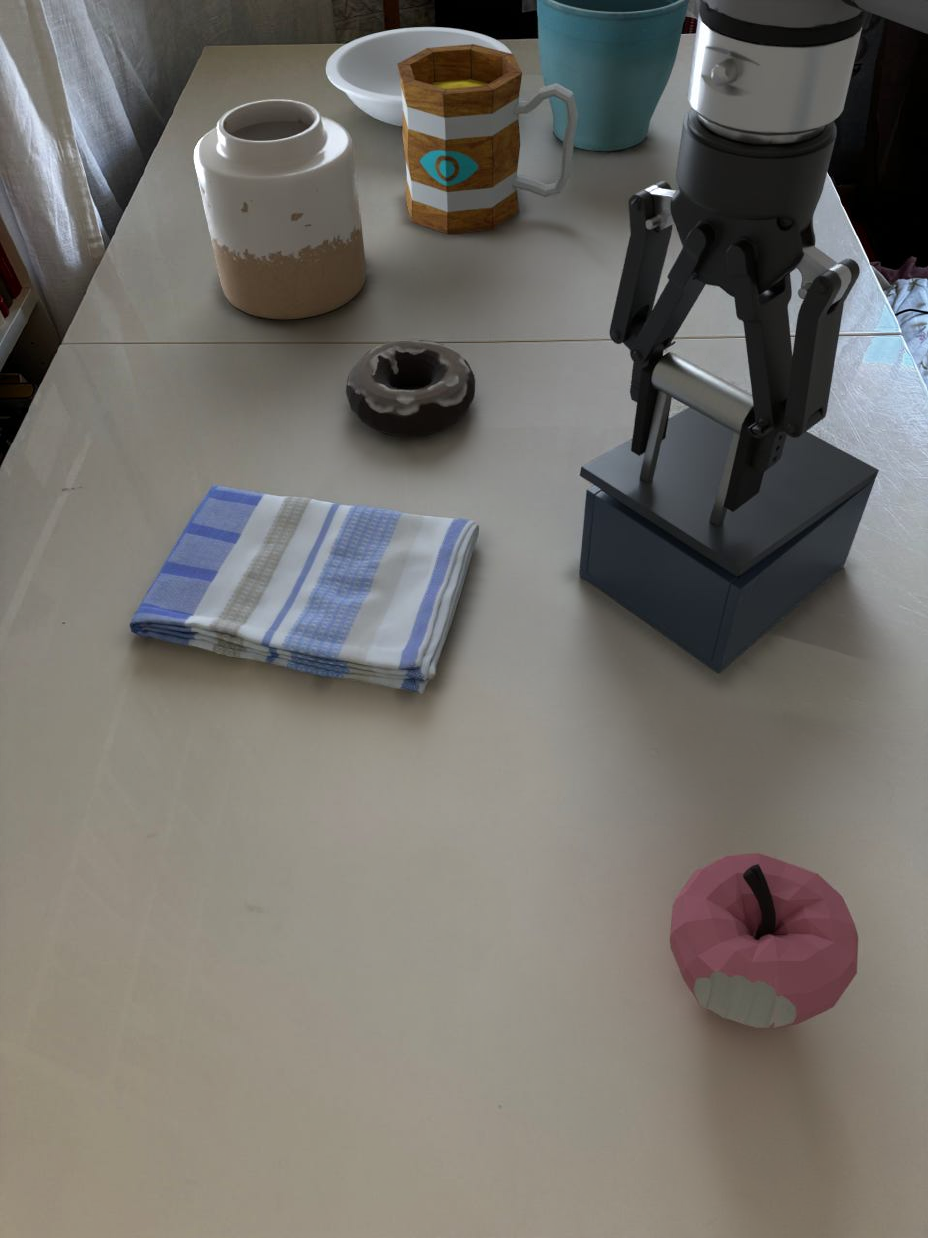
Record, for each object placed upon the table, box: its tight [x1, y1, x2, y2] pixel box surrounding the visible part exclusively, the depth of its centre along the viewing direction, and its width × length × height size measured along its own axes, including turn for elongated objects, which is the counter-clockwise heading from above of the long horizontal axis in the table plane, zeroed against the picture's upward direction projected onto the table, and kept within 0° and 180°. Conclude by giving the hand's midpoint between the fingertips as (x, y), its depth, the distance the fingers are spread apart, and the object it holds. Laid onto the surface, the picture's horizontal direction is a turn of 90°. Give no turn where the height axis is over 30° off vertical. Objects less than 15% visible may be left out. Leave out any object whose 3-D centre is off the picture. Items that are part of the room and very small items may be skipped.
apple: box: [669, 852, 859, 1029], centre depth 55 cm, size 10×9×10 cm
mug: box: [397, 44, 578, 235], centre depth 114 cm, size 20×14×15 cm
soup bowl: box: [325, 26, 513, 127], centre depth 134 cm, size 24×24×7 cm
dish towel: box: [129, 484, 480, 695], centre depth 79 cm, size 17×24×3 cm
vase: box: [193, 98, 367, 320], centre depth 104 cm, size 15×15×17 cm
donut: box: [345, 338, 476, 437], centre depth 94 cm, size 12×12×4 cm
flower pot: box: [536, 0, 690, 152], centre depth 126 cm, size 18×18×17 cm
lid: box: [579, 352, 880, 577], centre depth 69 cm, size 16×14×10 cm
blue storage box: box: [578, 479, 876, 674], centre depth 77 cm, size 16×14×9 cm
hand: (693, 470), depth 68 cm, fingers closed on lid, 7 cm apart
